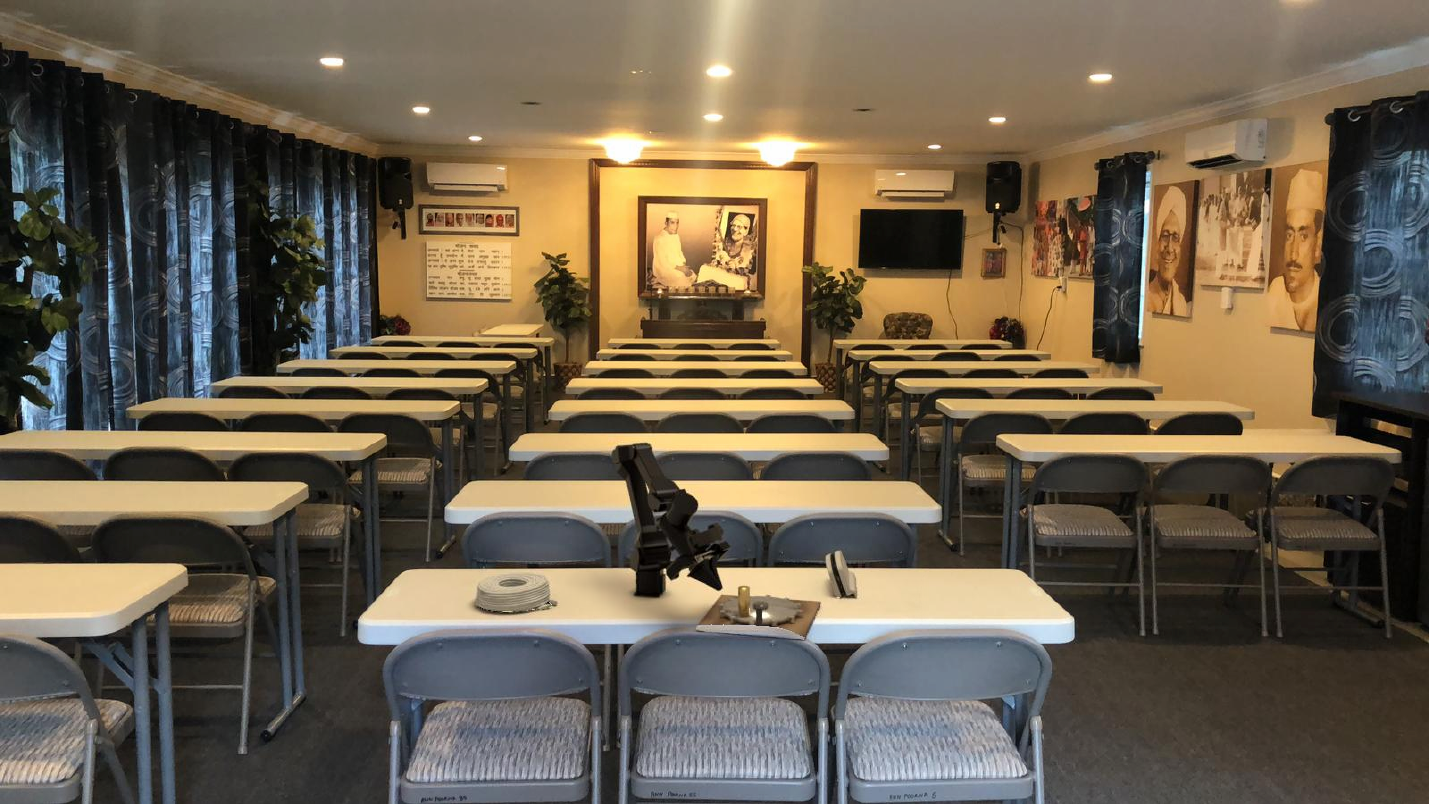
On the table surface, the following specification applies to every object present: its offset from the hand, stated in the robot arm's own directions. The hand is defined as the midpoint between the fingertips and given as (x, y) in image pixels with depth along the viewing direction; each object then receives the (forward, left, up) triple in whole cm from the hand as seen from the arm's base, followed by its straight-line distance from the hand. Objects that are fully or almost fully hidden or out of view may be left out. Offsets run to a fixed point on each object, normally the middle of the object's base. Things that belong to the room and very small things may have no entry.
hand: (720, 589), depth 239 cm
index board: (+8, +5, -7) cm, 12 cm away
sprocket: (+8, +5, -6) cm, 11 cm away
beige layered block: (+23, +32, -8) cm, 40 cm away
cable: (-51, +2, -8) cm, 52 cm away
